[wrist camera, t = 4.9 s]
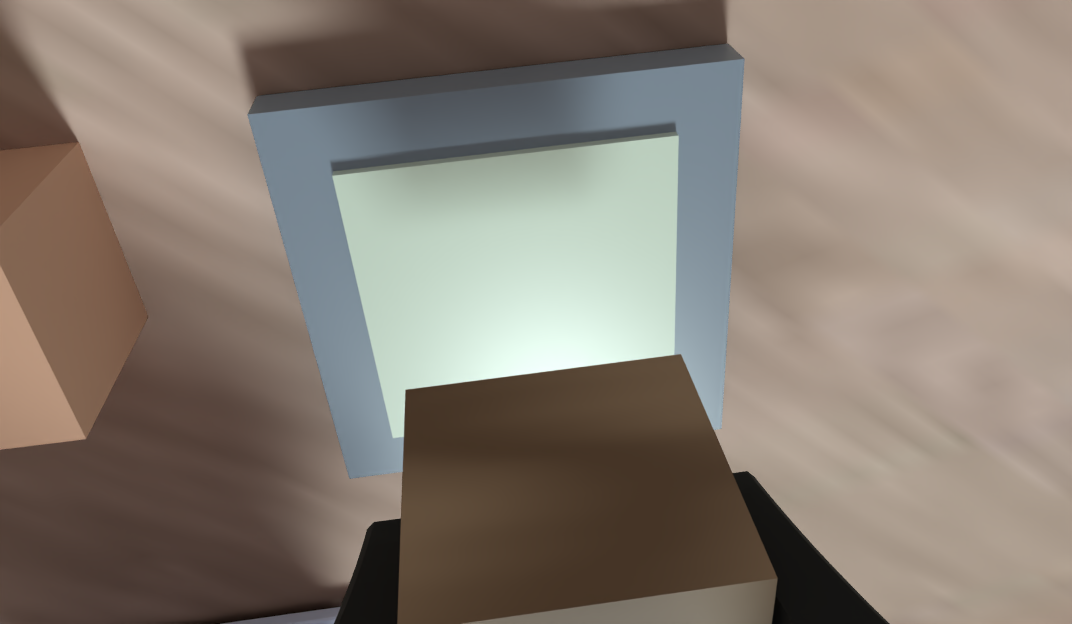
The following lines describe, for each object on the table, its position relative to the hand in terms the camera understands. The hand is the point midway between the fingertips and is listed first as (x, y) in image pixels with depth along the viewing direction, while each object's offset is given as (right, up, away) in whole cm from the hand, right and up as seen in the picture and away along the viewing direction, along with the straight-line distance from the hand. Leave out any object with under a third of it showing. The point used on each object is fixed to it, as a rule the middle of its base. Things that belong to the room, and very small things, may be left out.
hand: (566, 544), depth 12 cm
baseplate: (-1, +4, +6) cm, 8 cm away
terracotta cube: (-11, +5, +5) cm, 13 cm away
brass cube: (0, +1, +1) cm, 1 cm away
